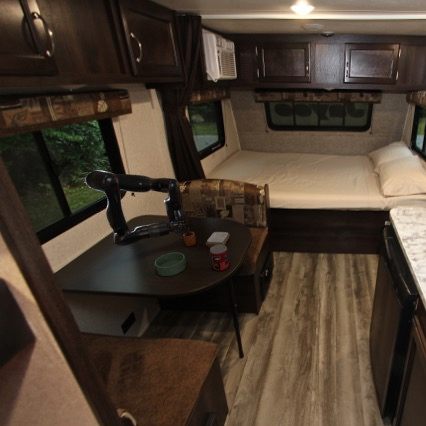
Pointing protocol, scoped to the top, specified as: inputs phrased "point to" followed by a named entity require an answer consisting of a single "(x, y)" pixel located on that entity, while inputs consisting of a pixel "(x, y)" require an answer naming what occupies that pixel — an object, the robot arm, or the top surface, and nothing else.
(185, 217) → the stick
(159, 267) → the bowl
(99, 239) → the top surface
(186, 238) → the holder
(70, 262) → the top surface
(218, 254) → the canned food
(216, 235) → the soap dish
